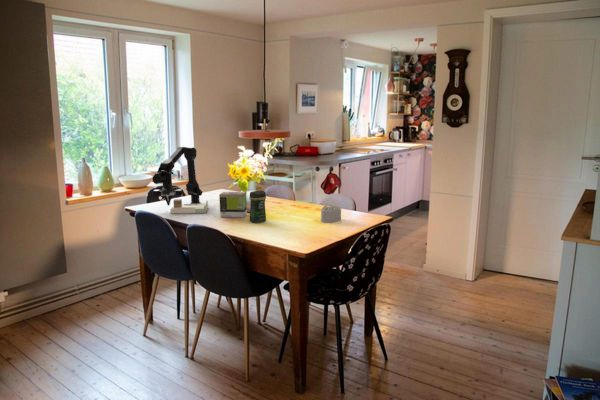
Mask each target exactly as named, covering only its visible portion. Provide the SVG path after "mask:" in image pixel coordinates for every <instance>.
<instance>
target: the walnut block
mask: <svg viewBox="0 0 600 400" xmlns="http://www.w3.org/2000/svg"><path fill="white" fill-rule="evenodd" d="M182 204H183V203H182V198H177V199H176V198H174V200H173V205H174V207H182Z"/></svg>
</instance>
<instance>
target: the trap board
mask: <svg viewBox="0 0 600 400" xmlns="http://www.w3.org/2000/svg"><path fill="white" fill-rule="evenodd" d="M204 202H205V203H200V204H190V203H182V207H174V204H173V205H172V206H171V208H170V211H169V212H170V215H181V214H182V215H183V214H184V215H190V214H193V215H194V214H206V213H207V211H208V209H209V204H208V203H209V200H206V201H204Z"/></svg>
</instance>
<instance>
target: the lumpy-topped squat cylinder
mask: <svg viewBox="0 0 600 400" xmlns="http://www.w3.org/2000/svg"><path fill="white" fill-rule="evenodd" d="M341 220H342V208H341V207H338V206H336V205H329V206H328V205H324V206H322V208H321V212H320V221H321V223H324V224H333V223H338V221H339V222H341Z"/></svg>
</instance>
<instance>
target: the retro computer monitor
mask: <svg viewBox="0 0 600 400" xmlns="http://www.w3.org/2000/svg"><path fill="white" fill-rule="evenodd" d="M218 198H219V214H220V215H219V216H220V218H245V217H246V216H247V214H248V210H247V206H248V204H247V203H248V202H247V191H222V192H221V193H219V197H218Z"/></svg>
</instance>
